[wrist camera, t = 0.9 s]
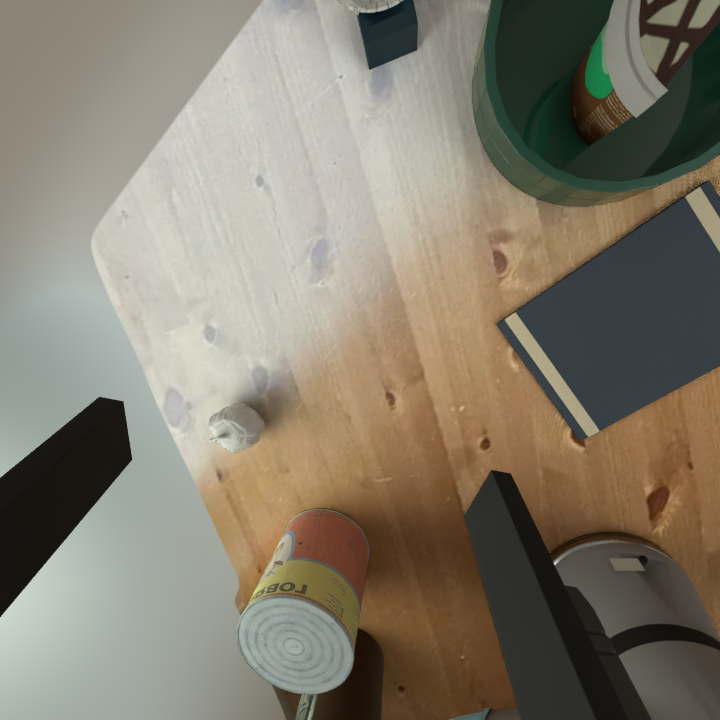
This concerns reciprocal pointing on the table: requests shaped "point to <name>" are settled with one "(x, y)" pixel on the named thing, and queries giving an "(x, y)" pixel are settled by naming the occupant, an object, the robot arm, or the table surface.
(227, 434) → the garlic
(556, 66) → the green round shallow dish
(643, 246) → the towel
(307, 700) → the olive oil
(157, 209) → the table surface
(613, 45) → the food container
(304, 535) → the canned food
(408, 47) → the watch
